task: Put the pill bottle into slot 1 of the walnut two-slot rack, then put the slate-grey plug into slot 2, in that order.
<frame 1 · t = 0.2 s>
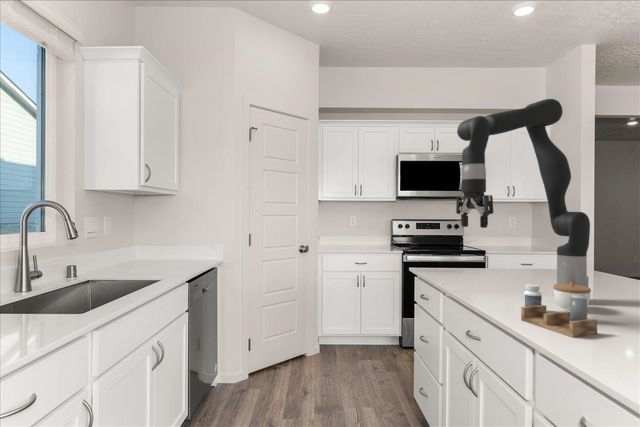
hand: (473, 227, 127), 28 cm above the worktop, fingers open, 8 cm apart
pill bottle: (532, 312, 128), on the worktop
lidded jar: (571, 309, 131), on the worktop
rack: (556, 326, 112), on the worktop
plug: (578, 321, 117), on the worktop
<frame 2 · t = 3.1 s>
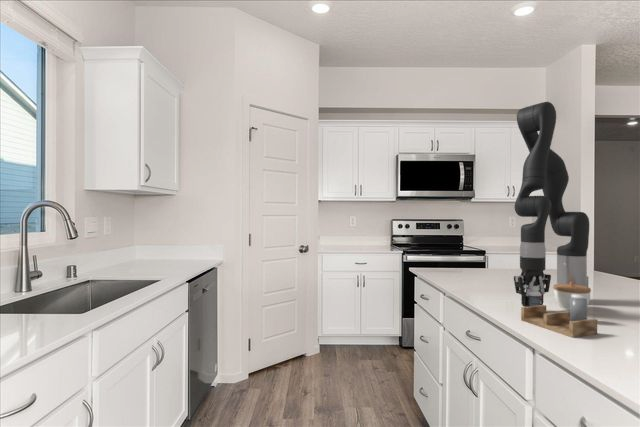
hand: (532, 305, 128), 2 cm above the worktop, fingers closed on pill bottle, 5 cm apart
pill bottle: (532, 312, 128), on the worktop, touching gripper
everything else where it was.
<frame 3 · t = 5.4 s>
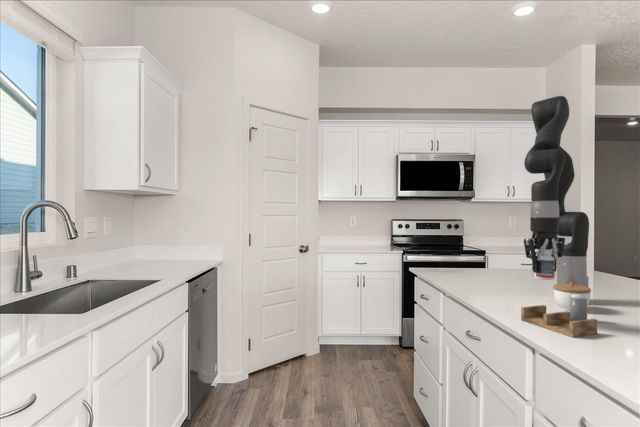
hand: (544, 271, 116), 15 cm above the worktop, fingers closed on pill bottle, 5 cm apart
pill bottle: (544, 279, 116), point 13 cm above the worktop, touching gripper
everything else where it was.
when the fingers open (4 cm above the worktop, at t = 7.8 s): pill bottle drops 1 cm, resting on rack.
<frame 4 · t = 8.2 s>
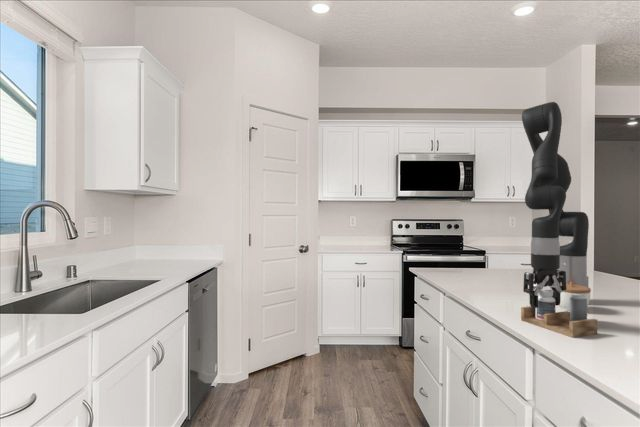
hand: (545, 306, 115), 5 cm above the worktop, fingers open, 8 cm apart
pill bottle: (545, 320, 116), point 1 cm above the worktop, touching rack
everything else where it was.
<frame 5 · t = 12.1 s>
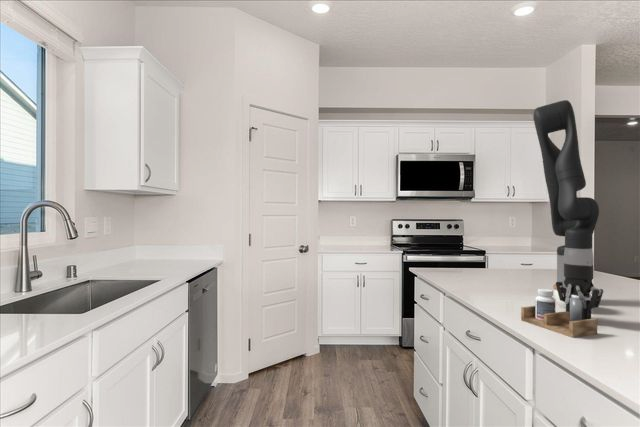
hand: (578, 318, 117), 1 cm above the worktop, fingers closed on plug, 4 cm apart
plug: (578, 321, 117), on the worktop, touching gripper
everything else where it was.
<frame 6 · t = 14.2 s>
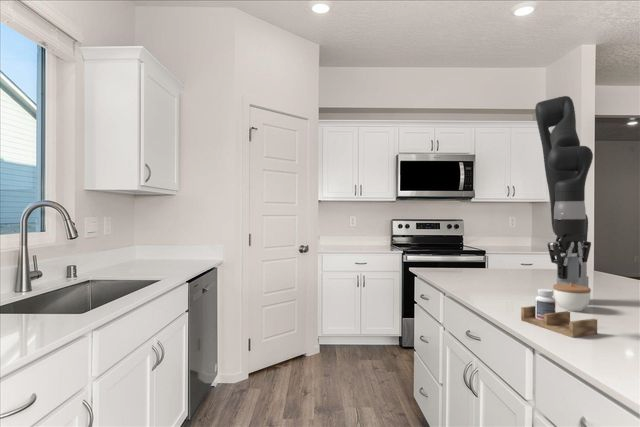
hand: (569, 277, 108), 15 cm above the worktop, fingers closed on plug, 4 cm apart
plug: (569, 281, 108), point 14 cm above the worktop, touching gripper
everything else where it was.
when the fingers open (3 cm above the worktop, at t = 16.6 s): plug drops 1 cm, resting on rack.
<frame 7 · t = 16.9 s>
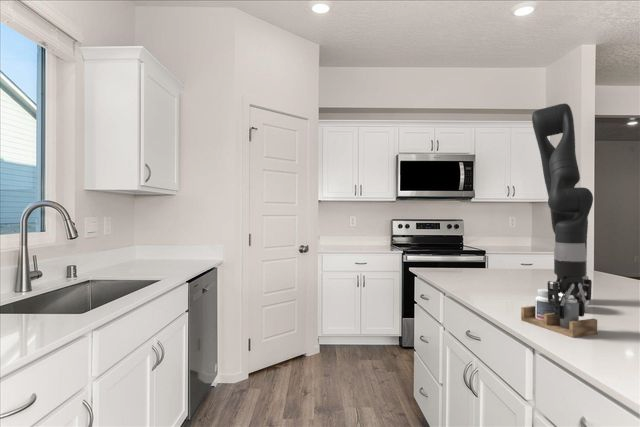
hand: (569, 317, 108), 4 cm above the worktop, fingers open, 7 cm apart
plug: (569, 327, 108), point 1 cm above the worktop, touching rack
everything else where it was.
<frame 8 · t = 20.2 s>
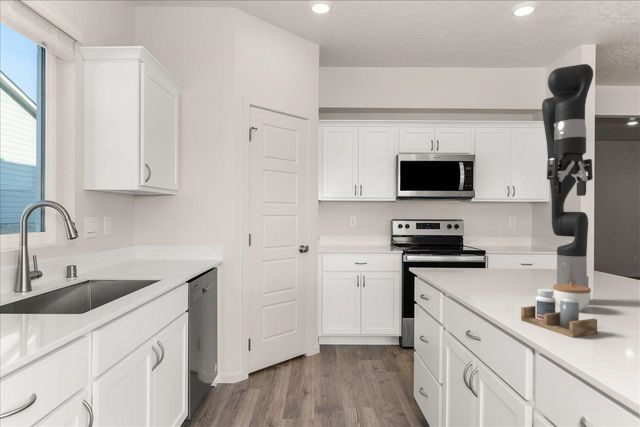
hand: (569, 195, 108), 38 cm above the worktop, fingers open, 8 cm apart
nothing on the worktop moved.
at the end: pill bottle 0.2 cm from the target spot on the rack, point 0.8 cm above the rack's base; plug 0.1 cm from the target spot on the rack, point 1.0 cm above the rack's base; pill bottle tilted 0° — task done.
